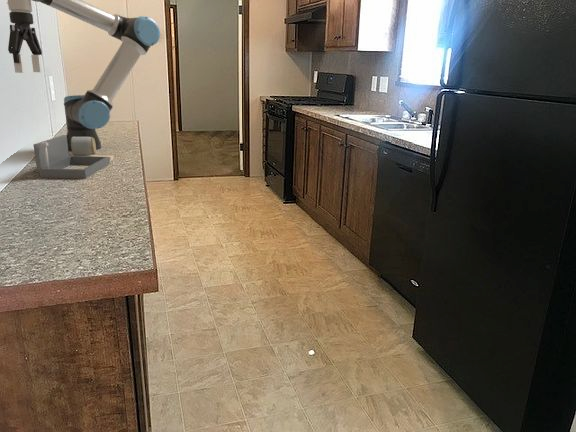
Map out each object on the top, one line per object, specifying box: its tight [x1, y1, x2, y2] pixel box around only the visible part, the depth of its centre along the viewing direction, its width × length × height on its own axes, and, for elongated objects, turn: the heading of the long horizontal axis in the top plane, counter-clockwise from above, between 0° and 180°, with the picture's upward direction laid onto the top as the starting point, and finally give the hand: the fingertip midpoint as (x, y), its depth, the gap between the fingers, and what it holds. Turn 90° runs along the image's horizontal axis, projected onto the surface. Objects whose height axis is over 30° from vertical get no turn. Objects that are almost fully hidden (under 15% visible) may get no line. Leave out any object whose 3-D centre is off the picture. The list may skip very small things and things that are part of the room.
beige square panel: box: [87, 153, 117, 161], centre depth 187 cm, size 14×14×1 cm
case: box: [32, 134, 111, 180], centre depth 166 cm, size 24×16×11 cm, turn 1°
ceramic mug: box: [71, 137, 97, 156], centre depth 187 cm, size 11×8×8 cm
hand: (28, 72), depth 179 cm, fingers open, 13 cm apart
